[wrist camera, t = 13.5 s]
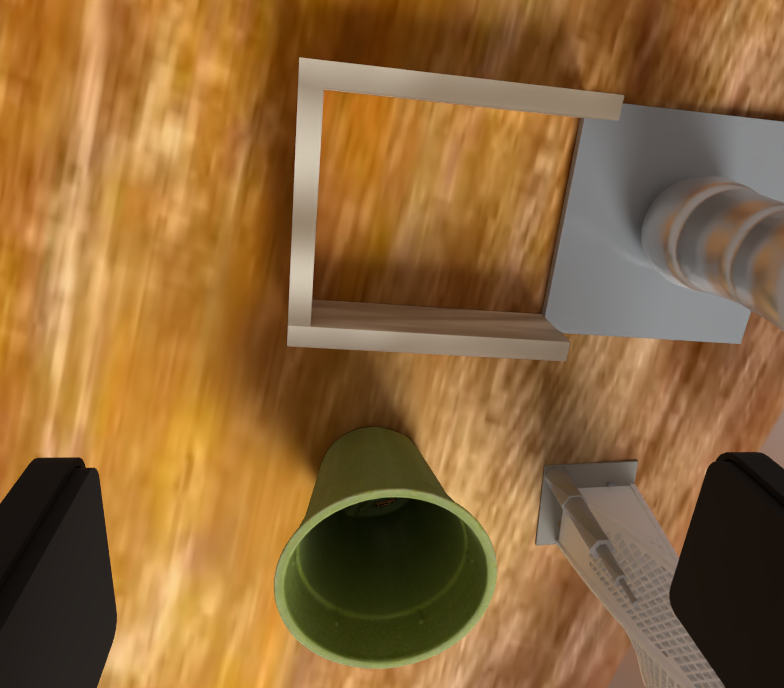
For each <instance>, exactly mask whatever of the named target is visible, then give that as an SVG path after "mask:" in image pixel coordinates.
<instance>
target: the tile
mask: <svg viewBox="0 0 784 688" xmlns="http://www.w3.org/2000/svg"><path fill="white" fill-rule="evenodd" d="M704 176H720V177H726V178H728V179H731V180H734V181H736V182H738V183H741V184H743V185H745V186H747V187H749V188H751V189H752V190H754V191H755V192H757V193H758V194H760V195H763V196H766V197H769V198H771V199H774V200H777V201H780V202H783V203H784V122H782V121H773V120H764V119H755V118H746V117H738V116H729V115H720V114H711V113H703V112H694V111H685V110H676V109H668V108H659V107H650V106H641V105H633V104H624V103H623V104H622V108H621V113H620V118H619V121H617V120H602V119H588V118H580V123H579V128H578V133H577V138H576V143H575V148H574V153H573V158H572V163H571V168H570V173H569V179H568V184H567V189H566V194H565V199H564V204H563V209H562V214H561V219H560V224H559V229H558V234H557V239H556V245H555V250H554V255H553V260H552V265H551V270H550V275H549V280H548V285H547V290H546V295H545V300H544V305H543V310H542V315H543V316H544V317H545V318H546V319H547V320H548V321H549V322H550V323H551V324H552V325H553V326H554V327H555V328H556V329H558V330H559V331H560V332H561V333H570V334H587V335H603V336H620V337H636V338H653V339H670V340H686V341H703V342H719V343H736V344H741V340H742V337H743V334H744V331H745V328H746V325H747V322H748V319H749V316H750V313H751V310H749V309H748V308H746V307H744V306H743V305H741V304H739V303H737V302H734V301H731V300H729V299H726V298H723V297H720V296H717V295H714V294H712V293H707V292H700V291H695V290H691V289H688V288H684V287H681V286H678V285H675V284H673V283H671V282H670V281H668V280H666V279H665V278H664V277H663V276H662V275H661V274H660V273H659V272H658V271H657V270H656V269H655V268H654V267H653V266H652V265H651V264H650V263H649V261H648V260H647V258H646V257H645V254H644V251H643V249H642V242H641V228H642V224H643V220H644V217H645V215H646V213H647V210H648V208H649V207H650V205H651V204H652V202H653V201H654V199H655V198H656V197H657V196H658V195H659V194H660V193H661V192H662V191H663V190H665V189H666V188H667V187H669V186H670V185H672V184H674V183H676V182H678V181H680V180H683V179H687V178H690V177H704Z"/></svg>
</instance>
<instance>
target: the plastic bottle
mask: <svg viewBox="0 0 784 688" xmlns="http://www.w3.org/2000/svg"><path fill="white" fill-rule="evenodd" d="M641 242H642V249H643V251H644V254H645V257H646V258H647V260H648V261H649V263H650V264H651V265H652V266H653V267H654V268H655V269H656V270H657V271H658V272H659V273H660V274H661V275H662V276H663V277H664V278H665V279H666V280H668V281H670V282H671V283H673V284H675V285H678V286H681V287H684V288H688V289H691V290H695V291H700V292H707V293H712V294H714V295H717V296H720V297H723V298H726V299H729V300H731V301H734V302H737V303H739V304H741V305H743V306H744V307H746V308H748V309H749V310H751V311H753V312H755V313H756V314H758V315H760V316H761V317H763V318H765V319H766V320H768V321H770V322H771V323H772V324H774V325H775V326H776V327H778V328H779V329H780V330H781V331H783V332H784V203H783V202H780V201H777V200H774V199H771V198H769V197H766V196H763V195H760V194H758V193H757V192H755V191H754V190H752V189H751V188H749V187H747V186H745V185H743V184H741V183H738V182H736V181H734V180H731V179H728V178H726V177H720V176H704V177H690V178H687V179H683V180H680V181H678V182H676V183H674V184H672V185H670V186H669V187H667V188H666V189H665V190H663V191H662V192H661V193H660V194H659V195H658V196H657V197H656V198H655V199H654V201H653V202H652V204H651V205H650V207H649V208H648V210H647V213H646V215H645V217H644V220H643V224H642V228H641Z"/></svg>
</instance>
